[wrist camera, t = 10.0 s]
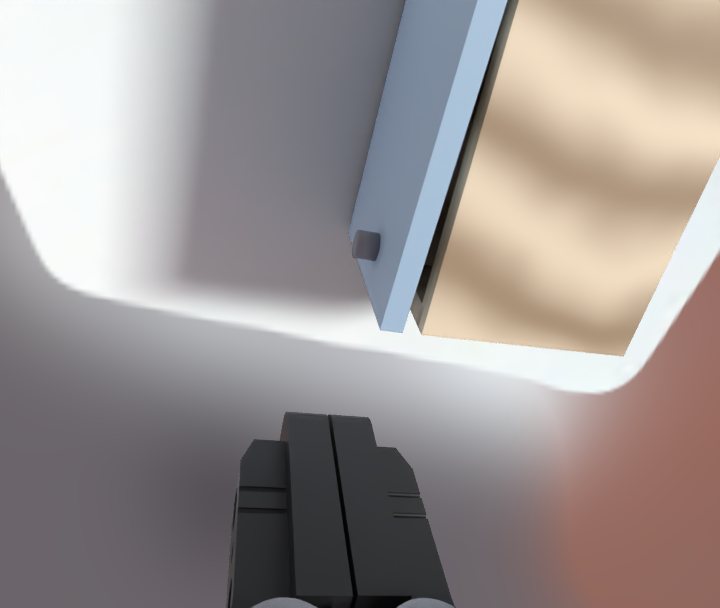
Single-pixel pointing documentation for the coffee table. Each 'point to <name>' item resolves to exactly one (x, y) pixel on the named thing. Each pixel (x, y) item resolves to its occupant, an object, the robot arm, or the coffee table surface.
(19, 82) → the coffee table surface
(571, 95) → the cabinet
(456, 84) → the cabinet door
